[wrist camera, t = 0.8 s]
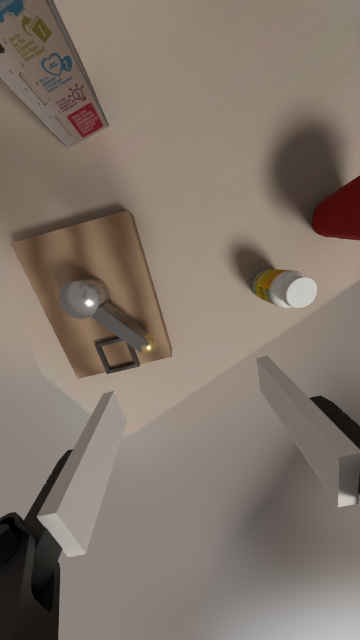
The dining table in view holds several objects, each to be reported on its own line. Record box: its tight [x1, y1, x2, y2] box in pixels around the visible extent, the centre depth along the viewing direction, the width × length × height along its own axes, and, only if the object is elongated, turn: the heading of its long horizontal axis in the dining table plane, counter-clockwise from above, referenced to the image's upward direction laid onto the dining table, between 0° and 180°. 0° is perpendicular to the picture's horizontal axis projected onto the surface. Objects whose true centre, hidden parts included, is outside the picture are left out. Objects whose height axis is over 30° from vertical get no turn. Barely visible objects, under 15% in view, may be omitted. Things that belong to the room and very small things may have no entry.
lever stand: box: [11, 210, 172, 379], centre depth 31 cm, size 18×24×4 cm
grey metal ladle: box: [58, 278, 157, 354], centre depth 28 cm, size 15×5×5 cm, turn 49°
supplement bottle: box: [253, 269, 317, 308], centre depth 28 cm, size 5×5×10 cm
